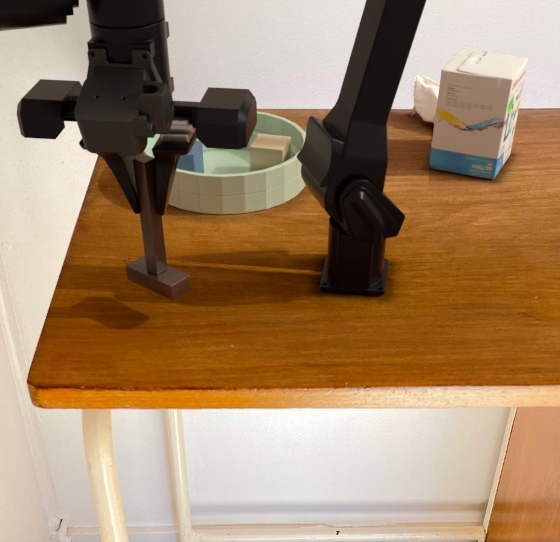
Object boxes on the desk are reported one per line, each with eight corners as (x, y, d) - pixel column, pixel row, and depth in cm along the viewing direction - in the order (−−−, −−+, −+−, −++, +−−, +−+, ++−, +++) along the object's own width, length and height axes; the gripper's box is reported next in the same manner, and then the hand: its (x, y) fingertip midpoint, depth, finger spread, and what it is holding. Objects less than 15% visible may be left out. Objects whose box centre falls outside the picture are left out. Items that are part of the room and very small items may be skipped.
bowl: (296, 224, 95) (296, 181, 91) (129, 213, 97) (123, 170, 93) (315, 153, 108) (317, 113, 105) (169, 145, 110) (165, 105, 107)
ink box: (494, 181, 102) (513, 79, 94) (426, 168, 105) (439, 68, 97) (511, 154, 108) (530, 55, 100) (447, 143, 110) (460, 46, 102)
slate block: (196, 188, 100) (193, 155, 97) (163, 186, 100) (159, 152, 97) (204, 174, 102) (202, 141, 100) (172, 171, 103) (169, 138, 100)
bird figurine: (397, 129, 117) (445, 135, 109) (402, 73, 114) (452, 76, 106) (425, 129, 119) (474, 135, 112) (431, 75, 116) (481, 77, 108)
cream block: (282, 183, 101) (282, 150, 98) (250, 180, 101) (249, 146, 99) (290, 169, 103) (290, 136, 101) (259, 166, 104) (258, 133, 101)
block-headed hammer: (191, 289, 79) (180, 163, 71) (172, 300, 78) (158, 172, 69) (146, 268, 82) (130, 144, 74) (127, 279, 81) (108, 154, 72)
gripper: (-34, 46, 59) (16, 250, 70) (228, 58, 57) (237, 266, 68) (23, 1, 67) (60, 191, 78) (255, 9, 65) (260, 203, 76)
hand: (150, 212), depth 75 cm, fingers closed on block-headed hammer, 2 cm apart
